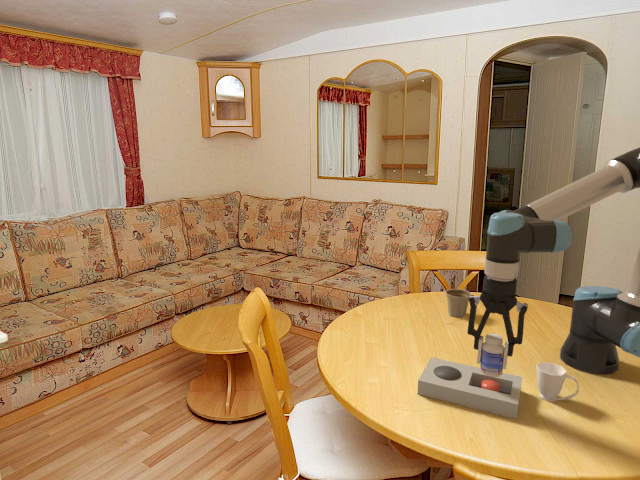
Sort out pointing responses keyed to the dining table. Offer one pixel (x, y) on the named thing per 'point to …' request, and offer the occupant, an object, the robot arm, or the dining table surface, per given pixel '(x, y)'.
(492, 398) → the grey recessed tray
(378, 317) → the dining table surface
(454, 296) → the flower pot
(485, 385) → the breaker button
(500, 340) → the pill bottle
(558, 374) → the cup
